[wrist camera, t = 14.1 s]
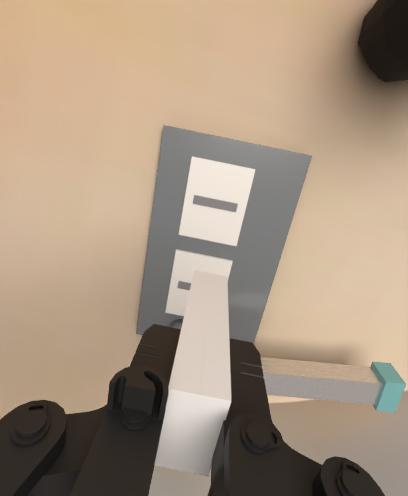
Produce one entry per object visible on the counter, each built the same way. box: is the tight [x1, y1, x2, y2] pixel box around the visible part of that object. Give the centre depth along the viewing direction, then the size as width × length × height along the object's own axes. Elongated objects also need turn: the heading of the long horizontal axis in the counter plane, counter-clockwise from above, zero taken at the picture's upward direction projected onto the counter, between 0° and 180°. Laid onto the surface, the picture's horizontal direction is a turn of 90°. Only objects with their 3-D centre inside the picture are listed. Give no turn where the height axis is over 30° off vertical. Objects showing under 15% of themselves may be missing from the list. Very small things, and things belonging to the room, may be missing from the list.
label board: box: [136, 125, 312, 344], centre depth 34 cm, size 16×27×6 cm, turn 169°
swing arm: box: [261, 357, 406, 412], centre depth 33 cm, size 26×4×3 cm, turn 87°
